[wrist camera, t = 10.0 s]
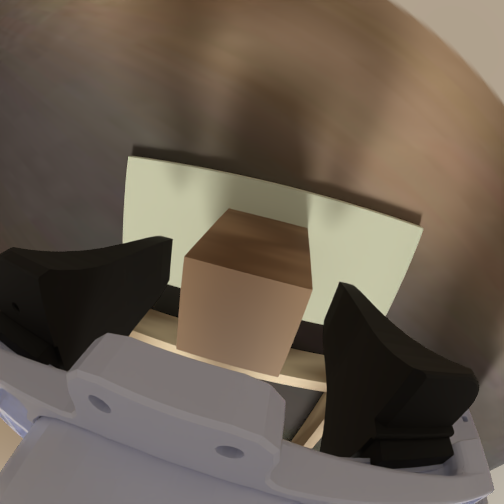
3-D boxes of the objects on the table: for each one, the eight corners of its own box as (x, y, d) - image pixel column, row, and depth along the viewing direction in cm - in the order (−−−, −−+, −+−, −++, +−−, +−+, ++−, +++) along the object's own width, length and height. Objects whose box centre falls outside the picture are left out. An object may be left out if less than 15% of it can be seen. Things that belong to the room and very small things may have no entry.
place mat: (420, 225, 13) (423, 228, 13) (373, 330, 16) (375, 335, 16) (133, 155, 14) (128, 156, 14) (126, 266, 17) (122, 269, 17)
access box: (354, 360, 17) (358, 387, 15) (287, 457, 24) (285, 477, 21) (130, 301, 18) (111, 321, 16) (142, 417, 24) (133, 435, 22)
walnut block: (307, 228, 14) (312, 290, 8) (286, 296, 15) (278, 377, 10) (228, 208, 14) (184, 256, 9) (216, 277, 16) (176, 348, 10)
